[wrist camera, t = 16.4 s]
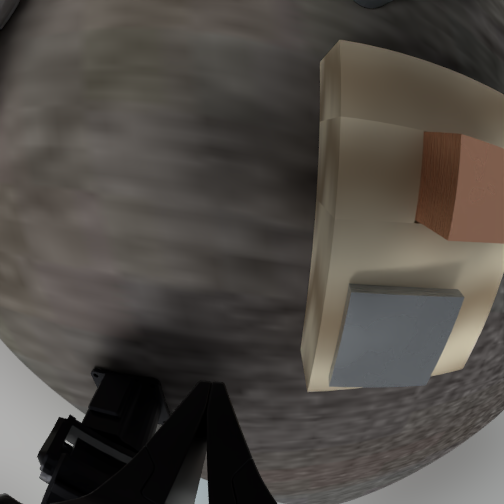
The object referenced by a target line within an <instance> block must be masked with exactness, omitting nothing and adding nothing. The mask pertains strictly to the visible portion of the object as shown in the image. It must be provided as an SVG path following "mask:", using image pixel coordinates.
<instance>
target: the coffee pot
mask: <svg viewBox="0 0 504 504" xmlns="http://www.w3.org/2000/svg"><path fill="white" fill-rule="evenodd" d="M19 1H20V0H0V30H1V29H2V27H3V26H4V25H5V23H6V22H7V21H8V19H9V18H10V17H11V15H12V13H13V12H14V10H15V9H16V7H17V5H18V3H19Z"/></svg>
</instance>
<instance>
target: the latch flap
mask: <svg viewBox="0 0 504 504" xmlns="http://www.w3.org/2000/svg"><path fill="white" fill-rule="evenodd" d="M464 298H465V297H464V296H463V295H462V293H461V292H460V291H459V290H458V289H440V288H419V287H400V286H382V285H366V284H351V283H349V286H348V292H347V297H346V302H345V307H344V312H343V317H342V322H341V327H340V331H339V336H338V340H337V345H336V349H335V353H334V357H333V361H332V365H331V369H330V373H329V387H403V386H420V385H426V384H427V382H428V380H429V378H430V376H431V374H432V372H433V370H434V368H435V366H436V364H437V362H438V360H439V358H440V356H441V354H442V352H443V350H444V348H445V345H446V343H447V341H448V339H449V336H450V334H451V332H452V329H453V327H454V324H455V322H456V319H457V317H458V314H459V311H460V309H461V306H462V303H463V300H464Z"/></svg>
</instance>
